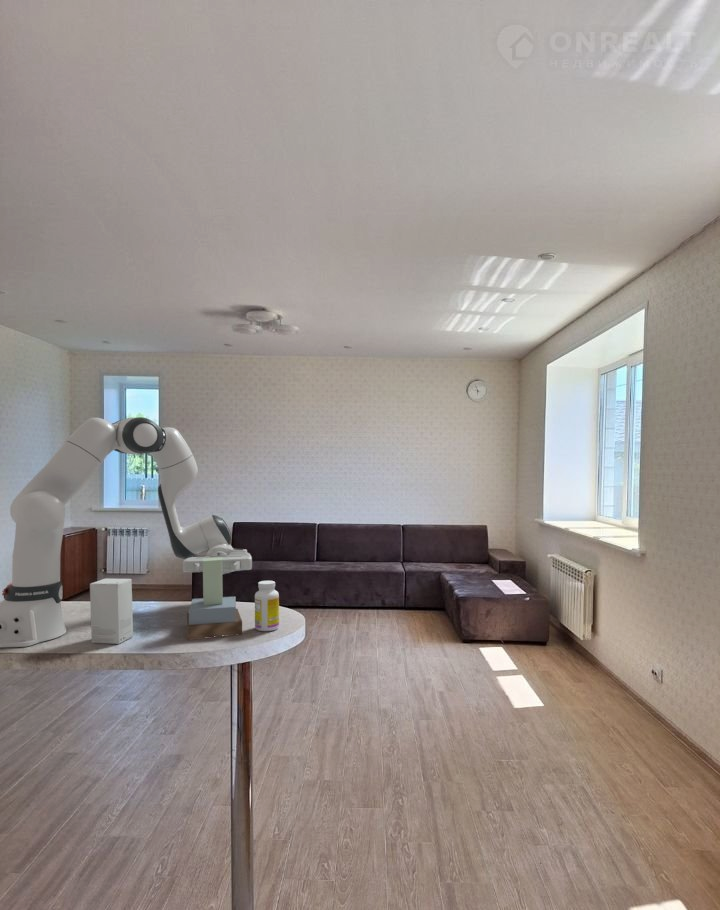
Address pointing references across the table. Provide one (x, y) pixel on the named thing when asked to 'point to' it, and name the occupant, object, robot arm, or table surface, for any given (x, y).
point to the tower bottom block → (214, 628)
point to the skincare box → (111, 611)
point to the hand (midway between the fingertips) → (216, 568)
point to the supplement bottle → (266, 607)
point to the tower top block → (212, 612)
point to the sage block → (212, 581)
